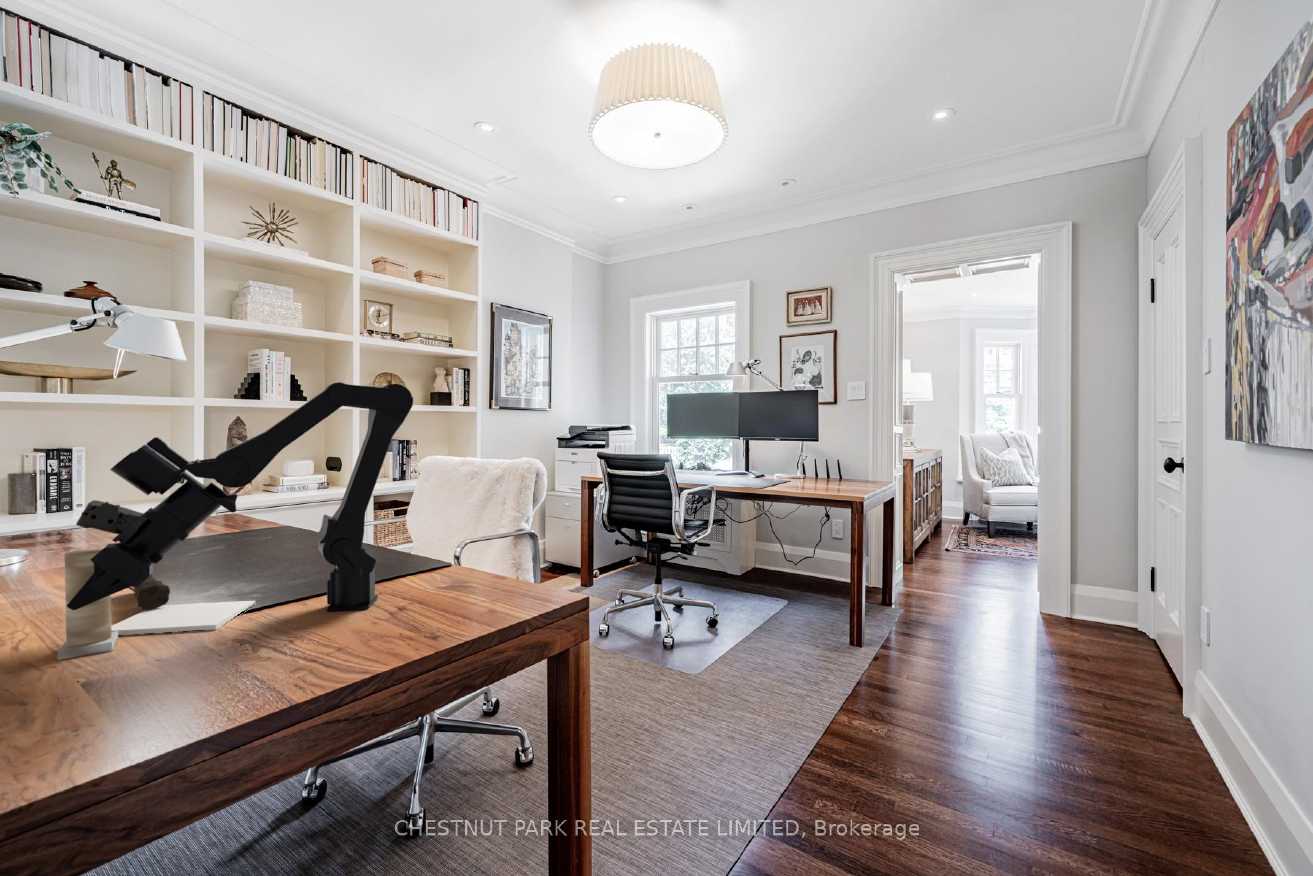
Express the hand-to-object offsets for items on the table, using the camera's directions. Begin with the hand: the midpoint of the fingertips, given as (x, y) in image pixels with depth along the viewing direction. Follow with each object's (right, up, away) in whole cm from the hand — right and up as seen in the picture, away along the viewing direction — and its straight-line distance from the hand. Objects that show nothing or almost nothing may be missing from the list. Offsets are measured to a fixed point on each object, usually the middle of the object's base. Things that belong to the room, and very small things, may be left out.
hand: (74, 603), depth 78 cm
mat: (+4, -6, +13) cm, 15 cm away
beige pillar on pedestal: (+1, -7, +1) cm, 7 cm away
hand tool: (-10, -6, +21) cm, 24 cm away
